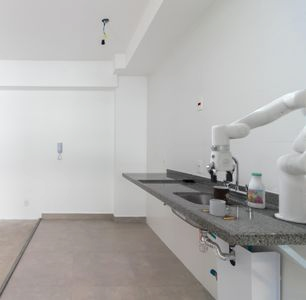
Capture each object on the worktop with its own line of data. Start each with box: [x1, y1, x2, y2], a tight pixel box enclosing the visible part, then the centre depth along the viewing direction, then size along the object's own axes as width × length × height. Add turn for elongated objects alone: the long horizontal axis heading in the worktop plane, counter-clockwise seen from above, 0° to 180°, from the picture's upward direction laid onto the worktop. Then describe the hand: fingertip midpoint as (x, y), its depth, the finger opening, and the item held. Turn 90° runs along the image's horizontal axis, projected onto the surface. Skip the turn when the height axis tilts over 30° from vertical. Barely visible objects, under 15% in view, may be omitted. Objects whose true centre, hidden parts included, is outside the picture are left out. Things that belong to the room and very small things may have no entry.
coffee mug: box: [212, 185, 231, 205], centre depth 130 cm, size 12×9×10 cm
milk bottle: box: [247, 172, 266, 209], centre depth 122 cm, size 8×8×20 cm
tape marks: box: [201, 209, 236, 220], centre depth 107 cm, size 6×14×1 cm, turn 13°
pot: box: [209, 198, 227, 217], centre depth 107 cm, size 7×7×7 cm
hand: (221, 182), depth 106 cm, fingers open, 9 cm apart
